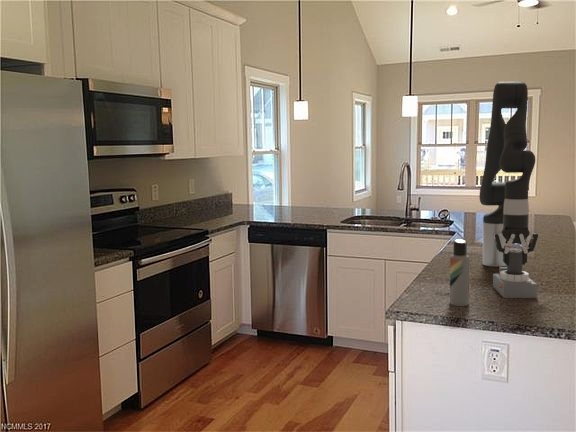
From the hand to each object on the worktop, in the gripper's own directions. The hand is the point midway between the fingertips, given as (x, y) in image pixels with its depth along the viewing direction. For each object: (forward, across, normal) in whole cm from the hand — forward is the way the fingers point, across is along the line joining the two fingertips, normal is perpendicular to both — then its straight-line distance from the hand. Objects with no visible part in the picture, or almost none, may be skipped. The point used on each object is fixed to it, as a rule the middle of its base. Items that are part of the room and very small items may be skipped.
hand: (514, 264), depth 179 cm
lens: (+4, 0, 0) cm, 4 cm away
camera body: (+9, 0, 0) cm, 9 cm away
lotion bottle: (+10, +20, +14) cm, 26 cm away
